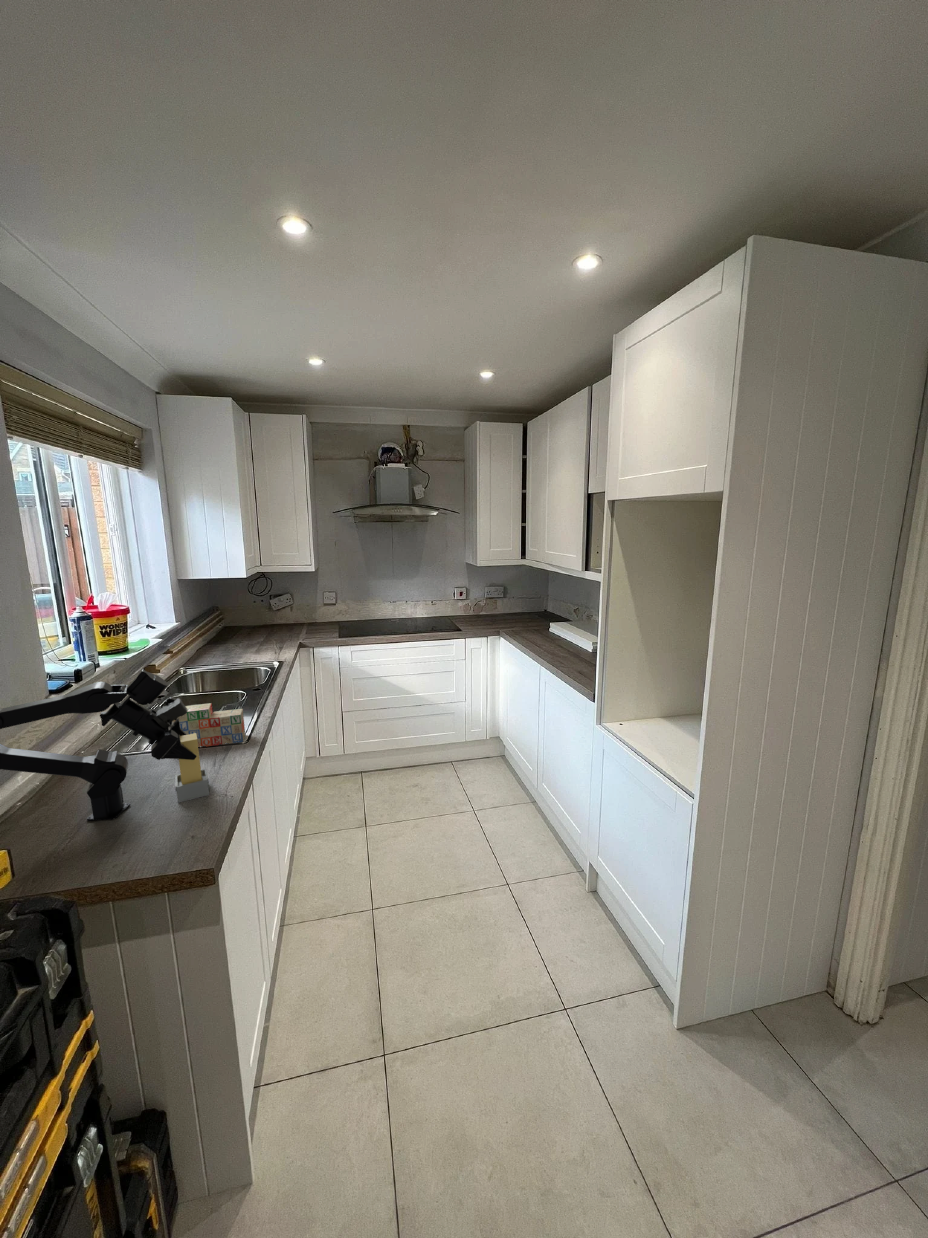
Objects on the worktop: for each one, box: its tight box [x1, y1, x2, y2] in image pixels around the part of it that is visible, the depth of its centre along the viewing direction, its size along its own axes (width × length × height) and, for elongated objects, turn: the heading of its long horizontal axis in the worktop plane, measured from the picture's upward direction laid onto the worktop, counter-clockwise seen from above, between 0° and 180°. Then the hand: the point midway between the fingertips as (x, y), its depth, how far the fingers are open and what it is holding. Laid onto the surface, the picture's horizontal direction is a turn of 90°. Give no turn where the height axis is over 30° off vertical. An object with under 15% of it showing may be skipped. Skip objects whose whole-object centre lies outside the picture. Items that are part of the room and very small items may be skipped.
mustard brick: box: [178, 733, 202, 785], centre depth 127 cm, size 4×4×12 cm
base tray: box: [174, 768, 210, 804], centre depth 128 cm, size 7×7×4 cm
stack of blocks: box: [173, 702, 246, 748], centre depth 159 cm, size 21×6×12 cm, turn 107°
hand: (194, 751), depth 127 cm, fingers open, 9 cm apart
